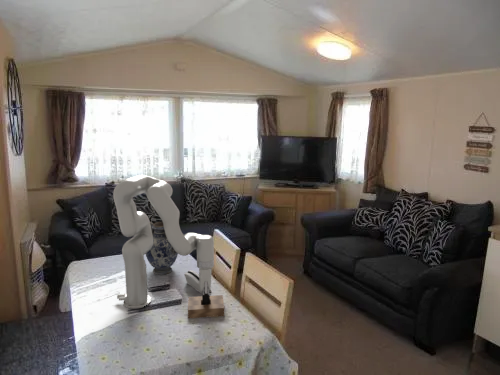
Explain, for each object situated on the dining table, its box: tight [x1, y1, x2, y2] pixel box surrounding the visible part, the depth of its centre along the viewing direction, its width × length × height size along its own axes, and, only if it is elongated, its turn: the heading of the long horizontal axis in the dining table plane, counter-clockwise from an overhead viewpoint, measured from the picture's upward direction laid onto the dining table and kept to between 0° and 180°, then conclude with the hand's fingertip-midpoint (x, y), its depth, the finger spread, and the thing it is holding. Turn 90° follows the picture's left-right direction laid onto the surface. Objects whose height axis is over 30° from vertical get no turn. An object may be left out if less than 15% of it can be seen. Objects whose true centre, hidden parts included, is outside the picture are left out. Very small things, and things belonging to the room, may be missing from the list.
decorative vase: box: [144, 221, 179, 276], centre depth 214 cm, size 21×19×28 cm
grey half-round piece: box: [183, 269, 212, 295], centre depth 196 cm, size 17×5×10 cm, turn 38°
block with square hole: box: [187, 294, 225, 319], centre depth 175 cm, size 16×12×4 cm
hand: (206, 300), depth 174 cm, fingers closed on pin, 3 cm apart
